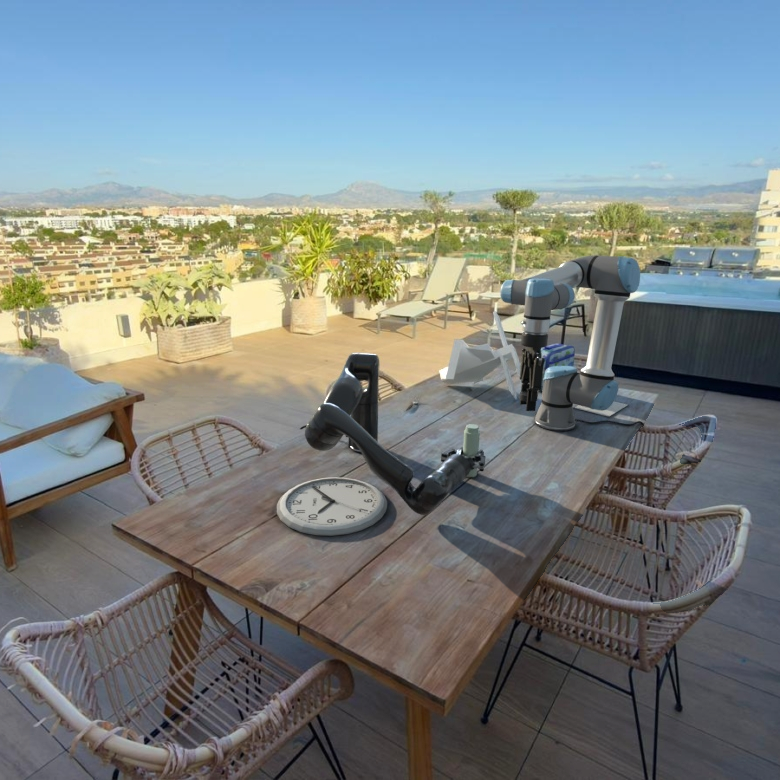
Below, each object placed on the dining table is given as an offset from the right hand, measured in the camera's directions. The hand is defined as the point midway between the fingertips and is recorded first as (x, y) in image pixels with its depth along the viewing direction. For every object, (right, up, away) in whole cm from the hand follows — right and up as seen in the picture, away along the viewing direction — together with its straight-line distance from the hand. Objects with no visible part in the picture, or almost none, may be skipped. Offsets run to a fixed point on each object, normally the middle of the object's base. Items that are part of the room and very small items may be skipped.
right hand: (527, 407), depth 160 cm
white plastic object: (0, +4, +83) cm, 83 cm away
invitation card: (+49, -2, +66) cm, 83 cm away
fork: (-33, -2, +63) cm, 71 cm away
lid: (0, +4, -1) cm, 4 cm away
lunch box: (+35, +6, +92) cm, 98 cm away
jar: (-17, -21, +2) cm, 27 cm away
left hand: (-16, -14, +3) cm, 21 cm away
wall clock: (-58, -26, -17) cm, 66 cm away
